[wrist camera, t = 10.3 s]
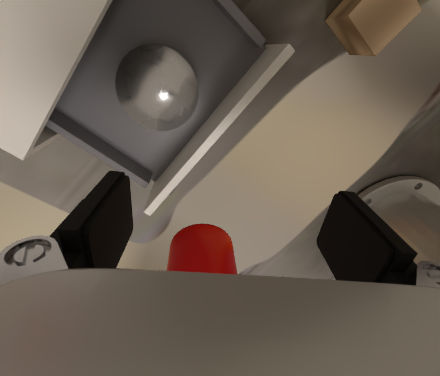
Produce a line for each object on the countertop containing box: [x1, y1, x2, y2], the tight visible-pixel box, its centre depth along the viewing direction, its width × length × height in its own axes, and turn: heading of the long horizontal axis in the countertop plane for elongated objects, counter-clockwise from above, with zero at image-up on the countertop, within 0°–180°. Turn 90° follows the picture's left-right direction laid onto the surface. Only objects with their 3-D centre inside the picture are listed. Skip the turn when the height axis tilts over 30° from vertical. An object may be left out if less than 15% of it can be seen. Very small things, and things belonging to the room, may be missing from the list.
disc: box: [115, 44, 199, 131], centre depth 19 cm, size 6×6×2 cm
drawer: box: [46, 0, 295, 216], centre depth 17 cm, size 17×16×6 cm
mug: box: [167, 224, 237, 274], centre depth 28 cm, size 8×12×8 cm, turn 44°
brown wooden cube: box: [325, 0, 422, 56], centre depth 18 cm, size 4×4×4 cm
